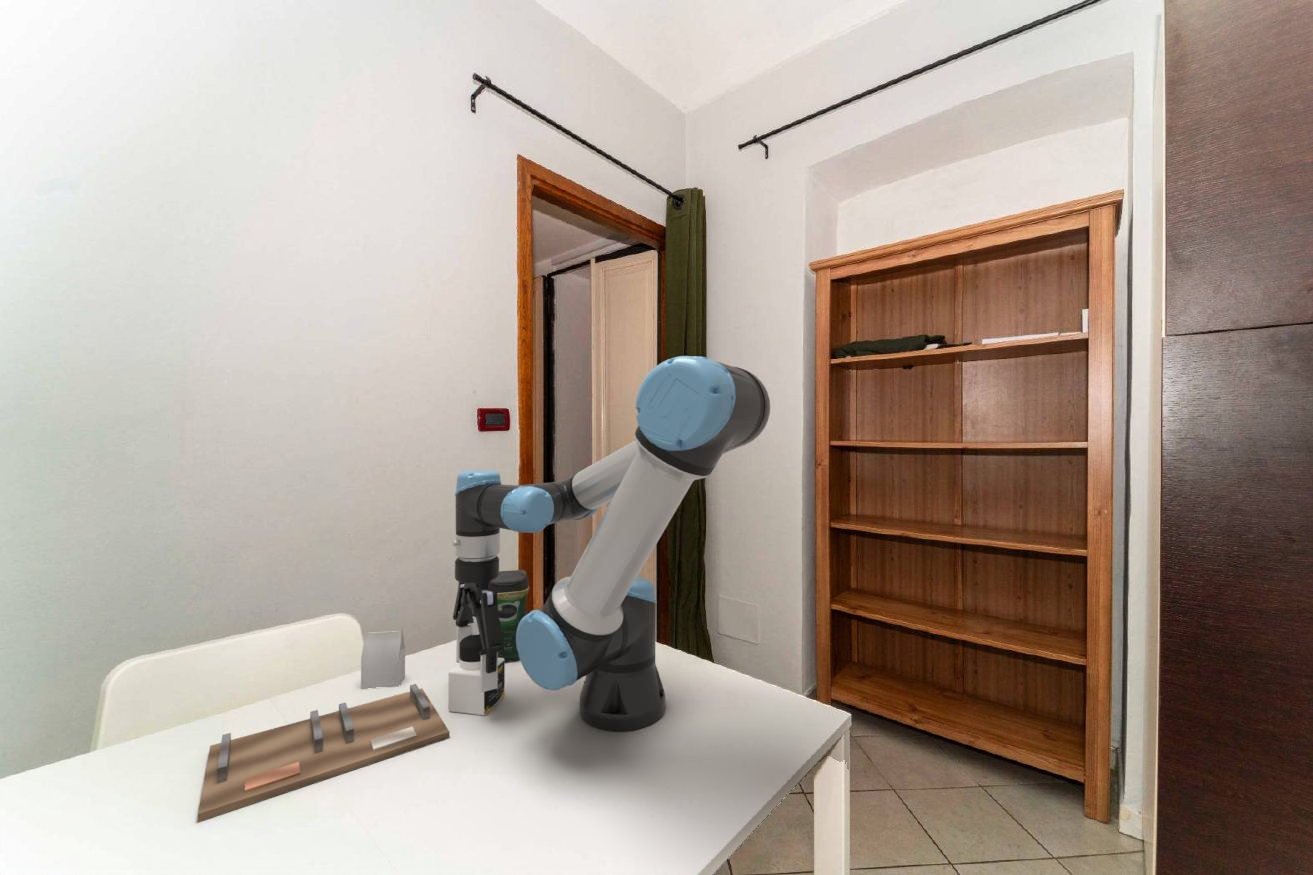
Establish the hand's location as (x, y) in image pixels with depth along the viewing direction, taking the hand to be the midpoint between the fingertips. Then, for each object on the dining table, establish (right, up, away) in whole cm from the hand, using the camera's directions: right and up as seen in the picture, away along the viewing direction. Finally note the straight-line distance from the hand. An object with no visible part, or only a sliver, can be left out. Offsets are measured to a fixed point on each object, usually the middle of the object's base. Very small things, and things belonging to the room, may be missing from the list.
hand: (475, 674), depth 93 cm
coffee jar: (0, -6, +20) cm, 21 cm away
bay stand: (-18, -5, -13) cm, 22 cm away
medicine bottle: (0, -5, 0) cm, 5 cm away
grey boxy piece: (-21, -5, +8) cm, 23 cm away
